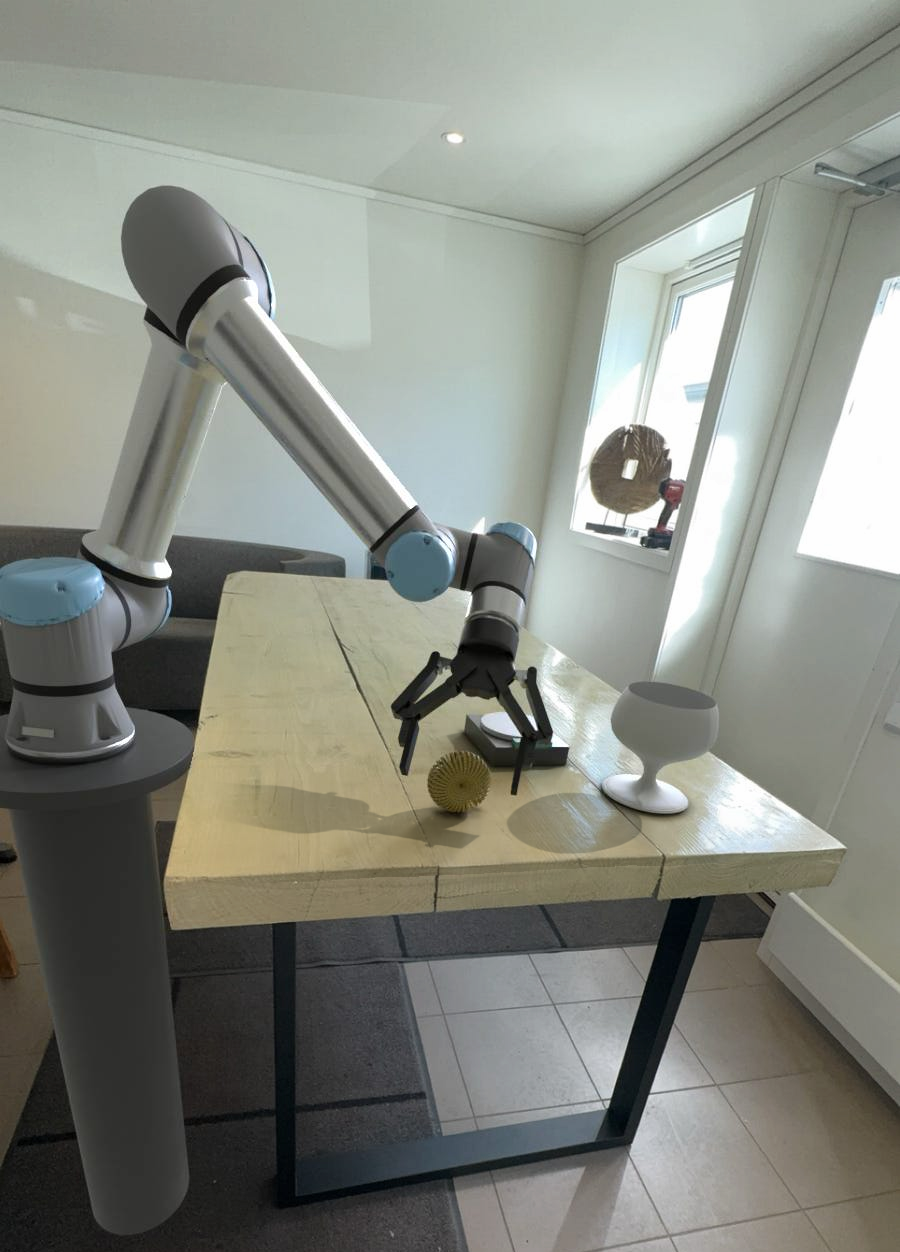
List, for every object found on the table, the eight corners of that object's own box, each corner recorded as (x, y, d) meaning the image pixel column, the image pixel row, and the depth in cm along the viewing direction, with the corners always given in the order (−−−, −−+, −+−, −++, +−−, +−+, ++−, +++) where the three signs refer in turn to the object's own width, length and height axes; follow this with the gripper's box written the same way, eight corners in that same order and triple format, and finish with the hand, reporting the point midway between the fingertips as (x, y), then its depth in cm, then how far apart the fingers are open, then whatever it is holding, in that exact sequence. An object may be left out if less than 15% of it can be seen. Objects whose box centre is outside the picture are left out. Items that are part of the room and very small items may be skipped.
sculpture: (427, 818, 80) (434, 758, 77) (421, 802, 84) (427, 744, 80) (489, 818, 82) (499, 759, 79) (481, 803, 86) (490, 746, 82)
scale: (463, 731, 109) (466, 709, 107) (530, 731, 113) (533, 710, 111) (493, 766, 97) (497, 742, 95) (566, 764, 101) (570, 741, 99)
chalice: (715, 808, 93) (748, 707, 86) (649, 827, 85) (680, 717, 78) (639, 769, 103) (664, 675, 96) (574, 783, 95) (596, 682, 88)
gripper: (583, 662, 88) (558, 809, 81) (402, 634, 91) (364, 774, 84) (591, 629, 81) (565, 788, 74) (395, 600, 84) (352, 751, 77)
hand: (458, 781), depth 79 cm, fingers open, 13 cm apart
